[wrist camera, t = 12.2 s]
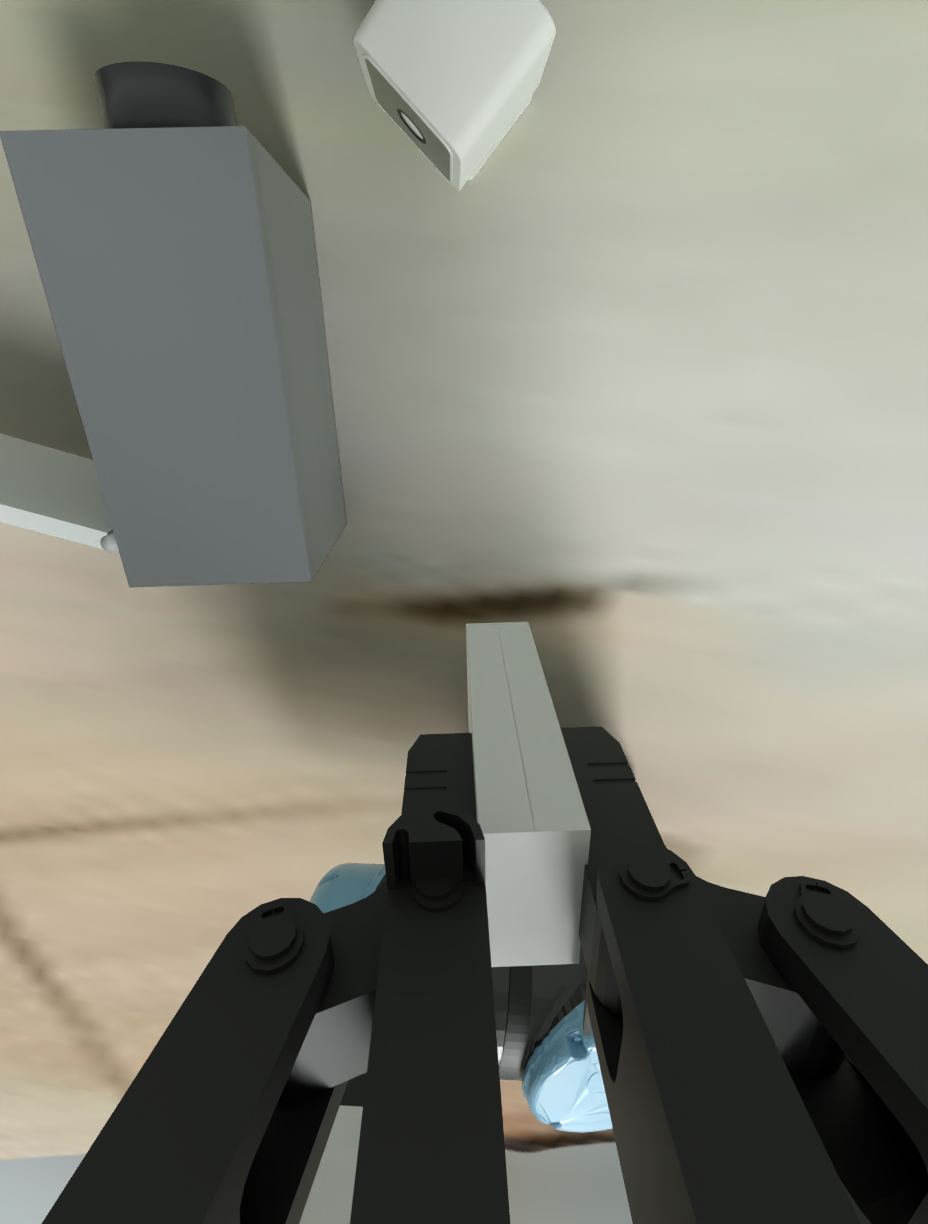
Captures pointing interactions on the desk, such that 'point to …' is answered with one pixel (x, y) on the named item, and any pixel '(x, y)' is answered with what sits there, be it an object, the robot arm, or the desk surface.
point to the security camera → (454, 73)
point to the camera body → (188, 330)
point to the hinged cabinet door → (53, 494)
